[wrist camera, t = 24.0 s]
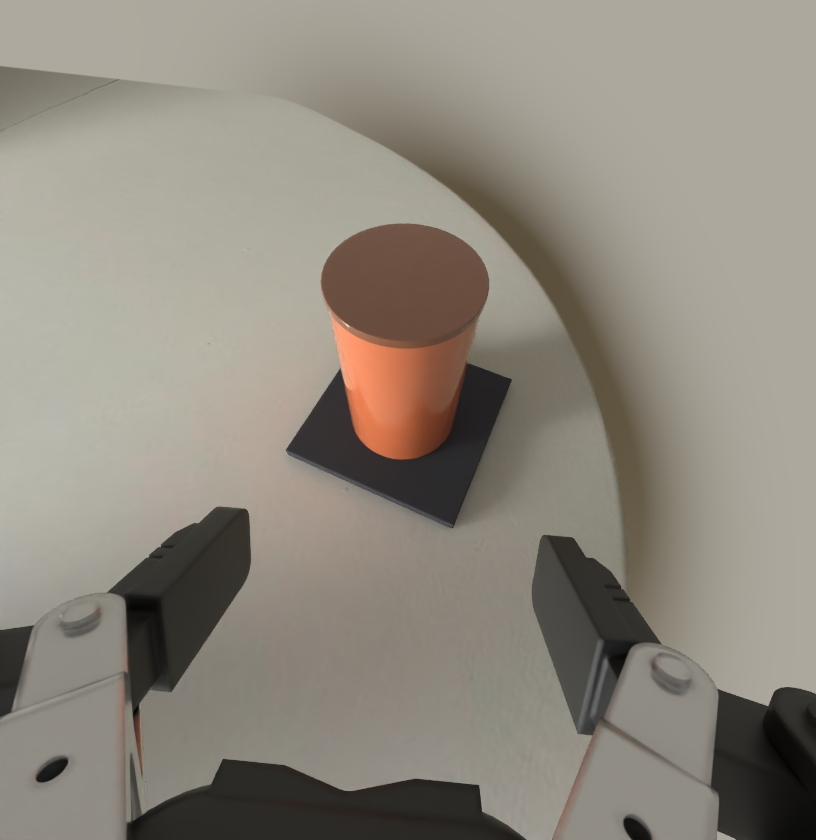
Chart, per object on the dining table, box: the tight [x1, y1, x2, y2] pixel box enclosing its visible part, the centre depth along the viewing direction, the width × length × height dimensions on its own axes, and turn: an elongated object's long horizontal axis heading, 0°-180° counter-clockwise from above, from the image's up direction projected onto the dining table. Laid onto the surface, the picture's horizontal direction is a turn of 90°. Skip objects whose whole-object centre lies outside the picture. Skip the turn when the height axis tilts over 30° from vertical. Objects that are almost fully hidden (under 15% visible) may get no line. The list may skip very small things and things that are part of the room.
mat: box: [286, 364, 511, 528], centre depth 24 cm, size 10×10×1 cm
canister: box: [321, 224, 489, 459], centre depth 19 cm, size 6×6×10 cm
